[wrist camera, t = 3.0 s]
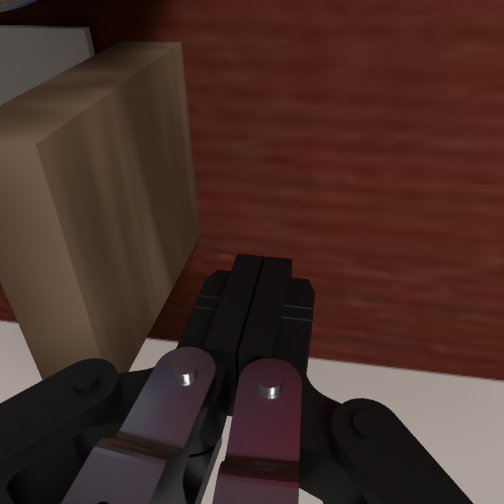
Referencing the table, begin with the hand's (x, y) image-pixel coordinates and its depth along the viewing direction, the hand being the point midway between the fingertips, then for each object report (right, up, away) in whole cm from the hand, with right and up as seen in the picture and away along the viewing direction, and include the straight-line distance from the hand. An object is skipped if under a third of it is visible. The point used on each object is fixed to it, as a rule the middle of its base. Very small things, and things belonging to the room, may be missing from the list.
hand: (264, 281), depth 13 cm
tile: (-4, +5, +8) cm, 11 cm away
